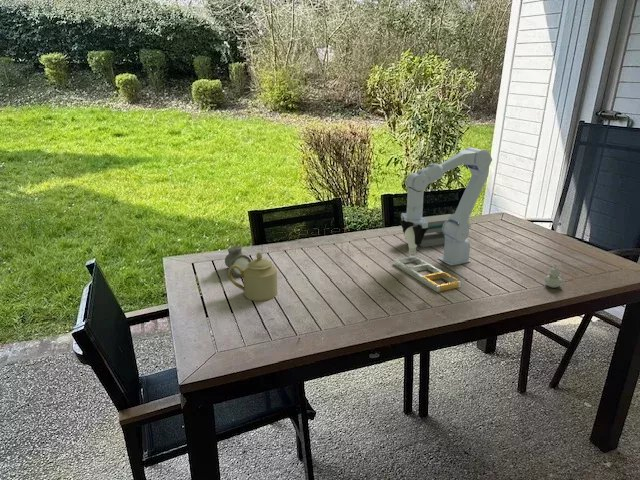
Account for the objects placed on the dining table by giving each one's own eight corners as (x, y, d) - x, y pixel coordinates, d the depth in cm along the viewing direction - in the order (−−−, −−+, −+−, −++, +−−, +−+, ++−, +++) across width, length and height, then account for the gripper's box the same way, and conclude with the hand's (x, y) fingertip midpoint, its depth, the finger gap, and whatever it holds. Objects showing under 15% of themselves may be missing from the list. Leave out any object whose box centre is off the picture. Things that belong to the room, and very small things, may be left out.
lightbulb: (420, 257, 165) (422, 229, 162) (403, 256, 166) (404, 228, 163) (420, 252, 171) (422, 224, 168) (403, 251, 172) (404, 224, 169)
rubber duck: (539, 285, 153) (543, 264, 150) (550, 281, 156) (554, 260, 154) (555, 291, 148) (559, 269, 146) (566, 286, 152) (570, 264, 149)
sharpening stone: (448, 236, 204) (450, 213, 200) (458, 242, 197) (461, 218, 193) (399, 243, 196) (401, 219, 193) (408, 249, 189) (410, 224, 186)
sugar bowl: (241, 307, 140) (238, 263, 135) (228, 294, 149) (225, 252, 144) (283, 296, 148) (281, 253, 143) (269, 284, 157) (266, 244, 152)
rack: (414, 260, 176) (415, 255, 176) (460, 287, 152) (461, 281, 152) (393, 264, 173) (393, 259, 172) (437, 292, 149) (437, 286, 148)
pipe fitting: (254, 273, 165) (249, 247, 162) (234, 279, 161) (228, 253, 158) (243, 266, 175) (238, 241, 172) (224, 272, 171) (218, 247, 169)
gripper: (394, 203, 168) (393, 237, 172) (417, 212, 155) (414, 249, 159) (410, 201, 170) (408, 234, 175) (433, 210, 157) (431, 246, 162)
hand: (412, 241), depth 167 cm, fingers closed on lightbulb, 6 cm apart
